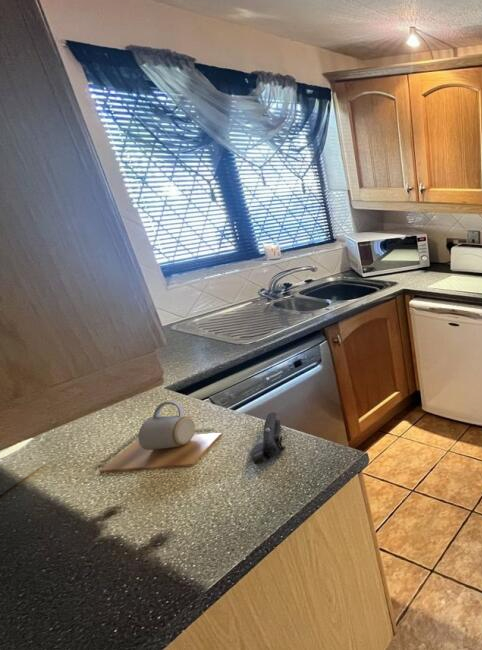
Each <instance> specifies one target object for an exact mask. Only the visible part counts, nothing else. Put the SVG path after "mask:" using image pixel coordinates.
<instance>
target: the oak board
mask: <svg viewBox="0 0 482 650" xmlns="http://www.w3.org/2000/svg"><path fill="white" fill-rule="evenodd" d="M222 436H223V432H212V433H199V434H198V433H196V434H194V435H193V437H192V439H191V440H190V441H189V442H188V443H187V444H185V445H182V446H179V447H171V448H162V449H153V450H145V449H143V448H142V447H141V446H140V444H139V440H138V439H136V440H135V441H134V442H132V443H131V444H130V445H129V446H128V447H126V448H125V449H124V450H123V451H121V452H120V453H119V454H117V455H116V456H115V457H114V458H112V460H110V461H109V462H108V463H106V464H105V465H103V467H102V468H100V469H99V470H98V472H99V473H114V472H123V471H124V472H125V471H138V470H139V471H140V470H152V469H165V468H166V469H167V468H178V467H179V468H180V467H192V466H194V465H195V464H196V463H197V462H198V461H199V460H200V459H201V458H202V457H203V456H204V455H205V454H206V453H207V452H208V451H209V449H210V448H211V447H212V446H213V445H214V444H215V443H216V442H217V441H218V440H219V439H220V438H221V437H222Z"/></svg>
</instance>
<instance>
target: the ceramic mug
mask: <svg viewBox="0 0 482 650" xmlns="http://www.w3.org/2000/svg"><path fill="white" fill-rule="evenodd" d="M165 405H172V406H174V407H176V408H177V410H178V415H160V414H161V411H162V408H163V407H164V406H165ZM195 431H196V425H195V422H194V420H193V419H192V418H191V417H190V416H186V415H185V409H184V406H183V405H182V404H181V403H180V402H178V401H175V400H169V401H163V402H162V403H160V404H159V405H158V406H156V407H155V410H154V412H153V416H150V417H148V418H147V419H145V420H144V422H143V423H142V424H141V426H140V428H139V430H138V436H137V438H138V439H137V440H139V444H140V446H141V447H142V448H143V449H145V450H153V449H162V448H171V447H179V446H182V445H185V444H187V443H188V442H189V441H190V440H191V439H192V437H193V435H195Z"/></svg>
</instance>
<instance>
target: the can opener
mask: <svg viewBox="0 0 482 650" xmlns="http://www.w3.org/2000/svg"><path fill="white" fill-rule="evenodd" d="M262 437H263V438H262V443H261V444H259V445H258V446H256V447H254V449H253V451H252V453H251V460H252V462H253V464H254V465H257V464H258V465H259V464H261V463H265V462H266V461H268V459H269V457H276V456H278V455H279V454H281V453H282V452H284V451H285V449H286V446H285V444H284V442H283V439H284V438H285V436H284V434H283V433H281V420H280V419H277V413H276V412H270V413H269V414H267V416H266V419H265V420H264V425H263V435H262Z"/></svg>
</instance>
